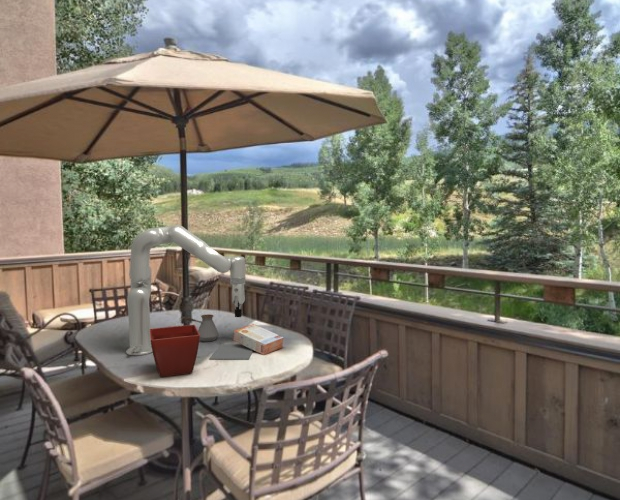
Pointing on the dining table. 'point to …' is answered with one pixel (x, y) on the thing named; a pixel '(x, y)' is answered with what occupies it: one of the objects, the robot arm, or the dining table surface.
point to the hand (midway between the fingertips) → (238, 316)
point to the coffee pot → (206, 328)
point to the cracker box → (258, 339)
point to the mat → (231, 352)
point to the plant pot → (175, 349)
